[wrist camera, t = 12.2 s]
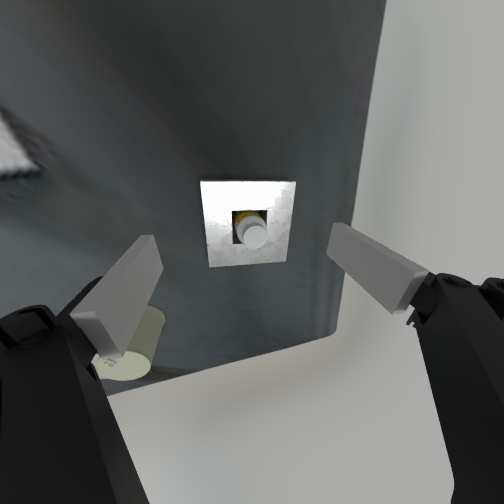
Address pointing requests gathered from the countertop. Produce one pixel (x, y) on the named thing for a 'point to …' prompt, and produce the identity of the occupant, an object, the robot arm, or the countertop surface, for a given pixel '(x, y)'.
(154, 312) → the can
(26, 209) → the countertop surface
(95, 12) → the countertop surface
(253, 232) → the supplement bottle
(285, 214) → the block with square hole
